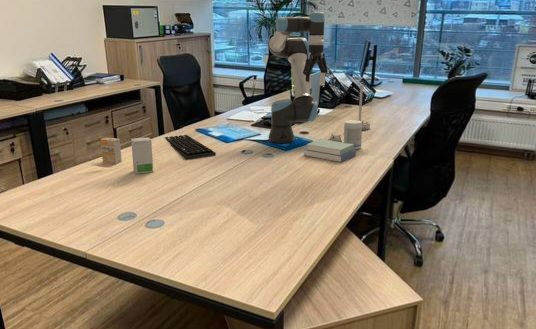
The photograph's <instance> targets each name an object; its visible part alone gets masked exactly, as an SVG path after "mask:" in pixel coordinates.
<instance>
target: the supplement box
mask: <svg viewBox="0 0 536 329" xmlns="http://www.w3.org/2000/svg"><path fill="white" fill-rule="evenodd" d="M99 140H100V148H101V157H102V158H101V159H102V163H103V164H109V165H116V166H117V165H118V164H121V163H122V162H123V160H122V151H121V149H122V148H121V139H120V138H115V137H102V138H100V139H99Z"/></svg>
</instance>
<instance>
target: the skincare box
mask: <svg viewBox="0 0 536 329" xmlns="http://www.w3.org/2000/svg"><path fill="white" fill-rule="evenodd" d="M130 140H131V141H130V142H131V153H132V166H133V168H132V169H133V172H134V173H135V174H136V175H138V174H148V173H154V163H153V162H154V161H153V160H154V159H153V158H154V157H153V147H152V145H153V144H152V139H151V138H150V137H136V138H131V139H130Z"/></svg>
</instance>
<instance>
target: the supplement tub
mask: <svg viewBox="0 0 536 329" xmlns="http://www.w3.org/2000/svg"><path fill="white" fill-rule="evenodd" d="M361 121H362V120H361ZM361 121H359V120H354V119H353V120H345V121H344V126H343V143H349V144H354V150H359V149H361V148H362V135H363V130H362V122H361Z"/></svg>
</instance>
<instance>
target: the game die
mask: <svg viewBox="0 0 536 329" xmlns="http://www.w3.org/2000/svg"><path fill="white" fill-rule="evenodd" d="M327 140H330V141H336V142H343V140H342V137H341V134H339V135H338V134H337V135H336V134H333V133H331V136H330V137H329V138H328V139H327Z"/></svg>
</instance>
